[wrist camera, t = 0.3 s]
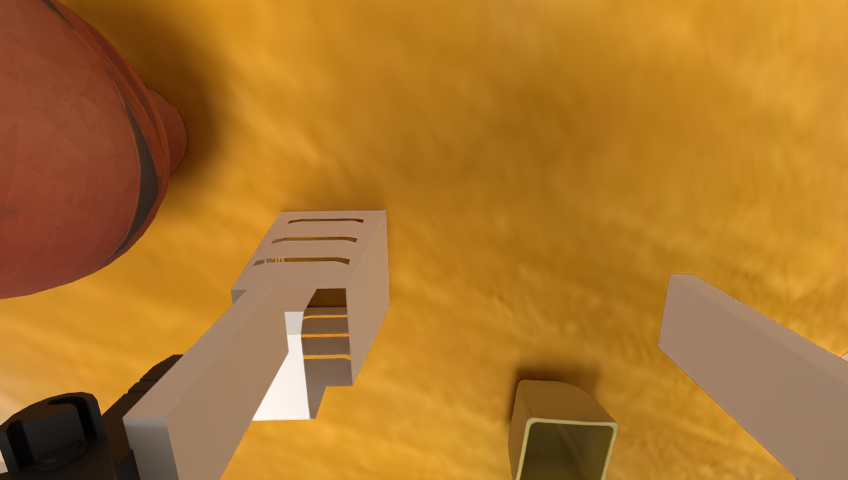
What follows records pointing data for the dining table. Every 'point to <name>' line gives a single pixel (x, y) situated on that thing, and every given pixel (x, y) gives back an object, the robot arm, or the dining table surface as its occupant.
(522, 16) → the dining table surface
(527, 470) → the flower pot
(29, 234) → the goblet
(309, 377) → the grater
